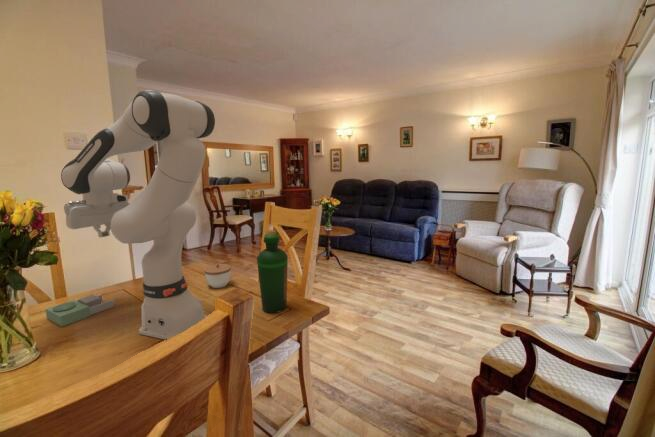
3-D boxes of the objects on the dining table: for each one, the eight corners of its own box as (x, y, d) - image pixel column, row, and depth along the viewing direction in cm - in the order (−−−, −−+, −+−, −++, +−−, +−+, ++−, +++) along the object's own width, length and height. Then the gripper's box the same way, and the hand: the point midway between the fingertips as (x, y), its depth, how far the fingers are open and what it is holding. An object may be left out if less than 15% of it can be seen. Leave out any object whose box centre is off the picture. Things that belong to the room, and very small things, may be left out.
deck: (115, 306, 114) (114, 296, 113) (62, 326, 100) (59, 314, 99) (100, 300, 119) (98, 290, 118) (47, 318, 105) (45, 307, 105)
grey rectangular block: (102, 309, 112) (100, 298, 111) (87, 315, 108) (86, 303, 107) (94, 306, 115) (92, 294, 114) (79, 311, 111) (77, 299, 110)
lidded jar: (216, 279, 139) (214, 259, 137) (237, 282, 136) (236, 261, 134) (199, 288, 129) (197, 267, 127) (222, 291, 126) (220, 269, 124)
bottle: (295, 305, 113) (293, 230, 108) (275, 318, 104) (271, 236, 99) (273, 298, 119) (270, 226, 114) (252, 310, 110) (248, 232, 105)
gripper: (67, 202, 101) (74, 244, 103) (132, 196, 118) (137, 231, 121) (58, 201, 104) (65, 242, 106) (123, 195, 121) (128, 230, 124)
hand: (104, 236), depth 114 cm, fingers closed
